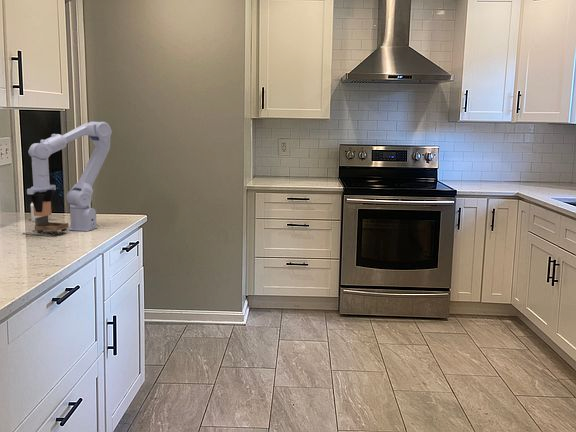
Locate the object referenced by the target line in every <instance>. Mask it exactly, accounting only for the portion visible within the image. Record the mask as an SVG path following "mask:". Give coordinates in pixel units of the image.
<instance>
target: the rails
mask: <svg viewBox="0 0 576 432" xmlns="http://www.w3.org/2000/svg"><path fill="white" fill-rule="evenodd" d="M31 232H35V233H31ZM31 232H30V233H29V232H22V233H21V234H22V235H23V236H26V235H27V236H28V235H29V236H39V237H40V236H42V237H54V236H55V234H54V235H53V234H52V233H51V231H43V233H40V234H39V233H38V232H37V230H35V229H33V230H31ZM47 233H48V234H47ZM49 233H51V234H49ZM63 233H64V232H63V231H60V230H59V231H57V234H63Z"/></svg>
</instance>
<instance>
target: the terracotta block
mask: <svg viewBox="0 0 576 432" xmlns="http://www.w3.org/2000/svg"><path fill="white" fill-rule="evenodd" d="M33 208H34V216H47V215H50V216H51V215H52V203H51V202H50V201H43V203H42V212H36V210H35V207H34V205H33Z"/></svg>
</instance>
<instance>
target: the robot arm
mask: <svg viewBox="0 0 576 432" xmlns="http://www.w3.org/2000/svg"><path fill="white" fill-rule="evenodd" d="M112 133H113V131H112V128H111V126H110V124H109V123H107V122H106V121H89V122H86V123H83V124H81V125H79V126H77V127H76V128H74V129H72V130H70V131H67V132H66V133H64V134H59V133H52V134H51V135H50V137H48V138H46V139H40V140H39V141H40V142H37V143H36V142H35V143H32V144H31V145H30V146H29V149H28V151H27V152H28V155H29V157H31V168H32V169H31V170H32V185H33V186H31V187H29V188H27V189H26V194H27V195H28V197H29V199H30V200H31V203H33V205H34V207H35V210H36V212H42V203H43V201H50V202H51V204H52V203H53V199H54V196H56V190H57V188H56V186H57V185H56V184H51V183H50V169H49V168H50V167H49V166H50V165H49V164H50V163H49V157H50V156H51V155H52V154H54V153H56V152H59V151H61V150H63V149H65V148H66V147H67V144H68V143H70V142H73V141H74V140H77V139H79V138H82V137H85V136H88V137H89V139H90V140H91V141H92V143H93V145H94V149H93V151H92V153H91V155H90V157H89V159H88V162H87V163H86V166H85V167H84V169H83V171H82V174H81V176H80V178H79V180H78V182H76V183H74V185H73V186H72V188H71V189H70V190H68V192H67V194H66V197H65V198H66V202H67V203H68V204H69V217H70V227H69V228H66V231H79V232H81V231H82V232H88V231H91V230H94V229H98V227H99V226H97V211H96V209H95V208H93V207H90V205H91V203H92V201H93V200H92V198H93V197H92V196H93V193H94V190H93V185H94V184H95V180H97V177H98V176H99V173H100V171H101V168H102V167H103V164H104V162H105V160H106V158H107V156H108V153H109V152H110V150H111V137H112V136H111V135H112Z"/></svg>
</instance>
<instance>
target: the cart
mask: <svg viewBox="0 0 576 432" xmlns="http://www.w3.org/2000/svg"><path fill="white" fill-rule="evenodd" d="M34 222H35V223H34V224H35V225H34V230H37V232H36V233H37V234H44V232H43V231H51V235H54V236H55V235H56V234H58V233H57V231H59V232H63V233H64V232H65V231H67V230H66V229H67V228H70V227H69V223H68V222H67V223H65V222H49V221H48V215H47V216H42V217H38V218H35V221H34Z"/></svg>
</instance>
